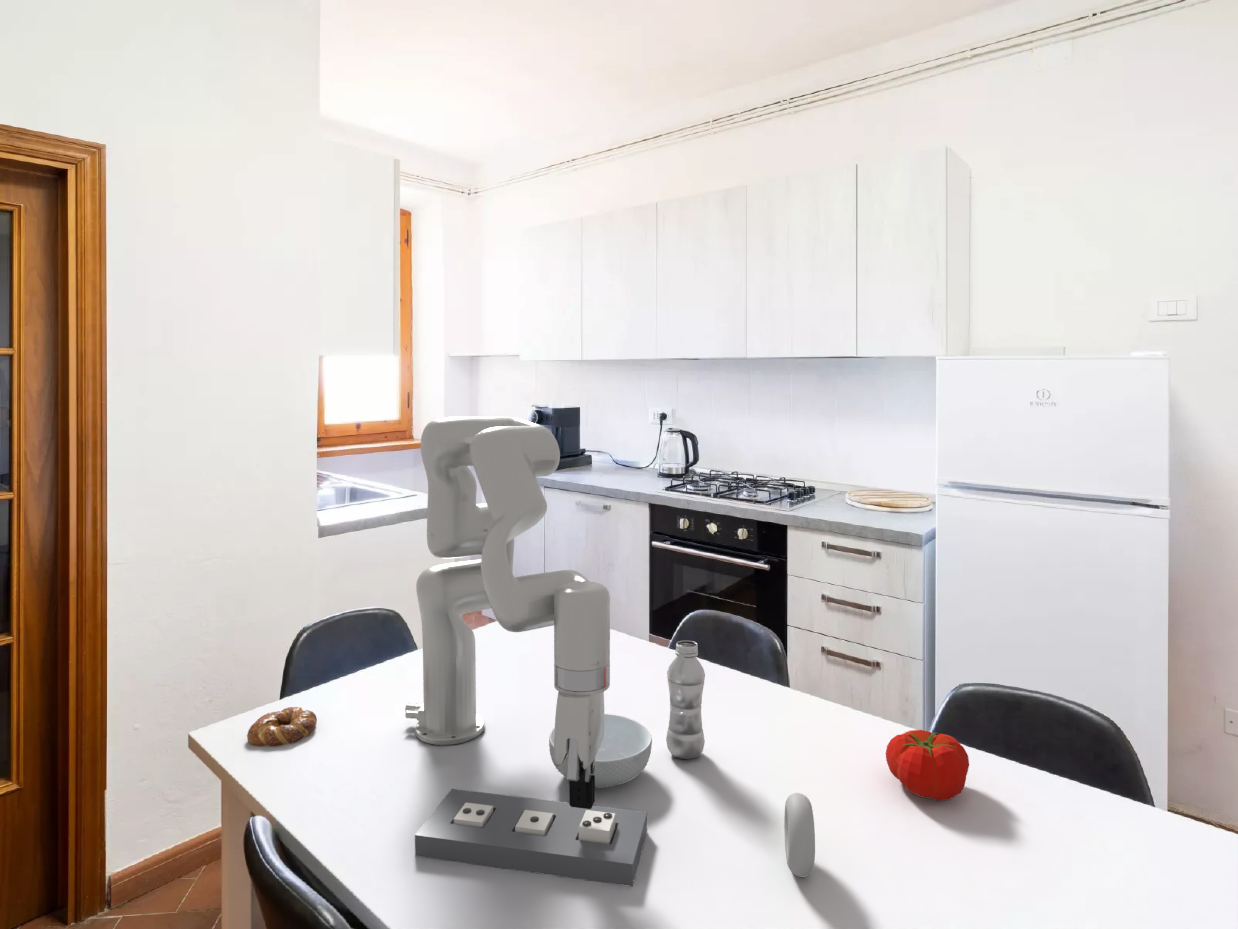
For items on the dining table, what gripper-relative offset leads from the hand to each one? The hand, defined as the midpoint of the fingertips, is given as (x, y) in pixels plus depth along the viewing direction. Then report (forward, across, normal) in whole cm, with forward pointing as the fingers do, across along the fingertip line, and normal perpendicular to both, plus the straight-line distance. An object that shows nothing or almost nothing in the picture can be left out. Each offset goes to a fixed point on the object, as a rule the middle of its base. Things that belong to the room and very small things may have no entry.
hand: (582, 804), depth 100 cm
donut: (+7, -3, +29) cm, 30 cm away
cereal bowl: (+7, -20, -2) cm, 22 cm away
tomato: (+7, -28, +50) cm, 57 cm away
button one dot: (+6, 0, -7) cm, 9 cm away
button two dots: (+5, 0, -16) cm, 17 cm away
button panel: (+7, 0, -7) cm, 10 cm away
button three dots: (+5, 0, +2) cm, 5 cm away
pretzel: (+7, -22, -63) cm, 67 cm away
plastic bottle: (+7, -30, +11) cm, 33 cm away
